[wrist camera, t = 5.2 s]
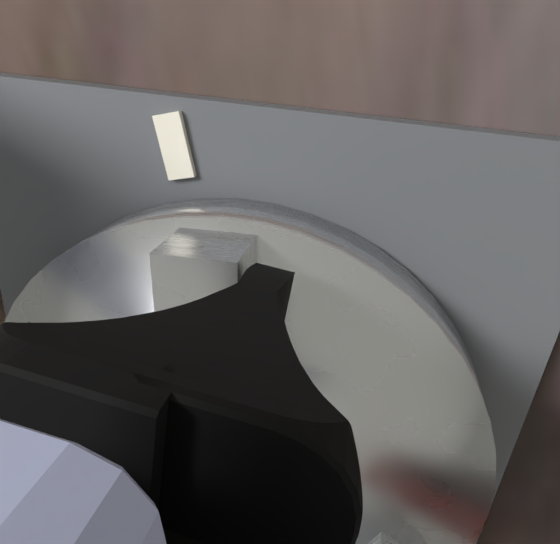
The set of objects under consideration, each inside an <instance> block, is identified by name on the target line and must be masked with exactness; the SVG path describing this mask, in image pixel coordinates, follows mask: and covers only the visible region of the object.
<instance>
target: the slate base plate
mask: <svg viewBox="0 0 560 544" xmlns="http://www.w3.org/2000/svg"><path fill="white" fill-rule="evenodd" d="M198 198H241V199H248V200H254V201H261V202H268V203H275V204H279V205H282V206H286V207H289V208H293V209H296V210H300V211H303V212H307V213H310V214H313V215H315V216H318V217H320V218H323V219H325V220H327V221H330V222H332V223H334V224H337V225H339V226H341V227H344V228H346V229H348V230H349V231H351V232H353V233H355V234H356V235H358V236H360V237H362V238H363V239H365V240H367V241H368V242H370V243H372V244H374V245H375V246H377V247H379V248H380V249H381V250H382V251H384V252H385V253H386V254H388V255H389V256H390V257H392V258H393V259H394V260H396V261H397V262H398V263H399V264H401V265H402V266H403V267H405V268H406V269H407V270H408V271H409V272H410V273H411V274H412V275H413V276H414V277H415V278H416V279H417V280H418V281H419V282H420V283H421V284H422V285H423V286H424V287H425V288H426V289H427V290H428V291H429V292H430V293H431V294H432V295H433V296H434V298H435V299H436V300H437V302H438V303H439V304H440V306H441V307H442V308H443V310H444V311H445V312H446V314H447V315H448V316H449V318H450V319H451V320H452V322H453V324H454V326H455V327H456V329H457V331H458V333H459V335H460V337H461V338H462V340H463V342H464V344H465V346H466V348H467V350H468V352H469V355H470V358H471V361H472V363H473V366H474V369H475V372H476V375H477V377H478V381H479V384H480V388H481V391H482V394H483V398H484V401H485V405H486V408H487V411H488V415H489V418H490V421H491V426H492V432H493V438H494V443H495V449H496V484H495V490H494V495H493V500H494V498H495V495H496V492H497V490H498V487H499V485H500V482H501V480H502V477H503V474H504V472H505V469H506V467H507V464H508V462H509V459H510V457H511V454H512V451H513V449H514V446H515V444H516V441H517V439H518V436H519V434H520V431H521V428H522V426H523V423H524V421H525V418H526V416H527V413H528V411H529V408H530V405H531V403H532V400H533V398H534V395H535V393H536V390H537V388H538V385H539V382H540V380H541V377H542V375H543V372H544V370H545V367H546V365H547V362H548V359H549V357H550V354H551V352H552V349H553V347H554V344H555V342H556V339H557V336H558V334H559V331H560V137H557V136H549V135H540V134H531V133H523V132H514V131H505V130H497V129H488V128H479V127H471V126H462V125H453V124H444V123H436V122H427V121H418V120H410V119H401V118H392V117H384V116H375V115H366V114H358V113H349V112H340V111H331V110H323V109H314V108H305V107H297V106H288V105H279V104H271V103H262V102H253V101H245V100H236V99H227V98H218V97H210V96H201V95H192V94H184V93H175V92H166V91H158V90H149V89H140V88H132V87H123V86H114V85H106V84H97V83H88V82H79V81H71V80H62V79H53V78H45V77H36V76H27V75H19V74H10V73H1V72H0V289H1V295H2V301H3V307H4V312H5V318H6V317H7V315H8V313H9V311H10V309H11V307H12V305H13V303H14V301H15V300H16V299H17V297H18V296H19V295H20V293H21V292H22V291H23V289H24V288H25V287H26V285H27V284H28V282H29V281H30V280H31V279H32V278H33V277H34V276H35V275H36V274H38V273H39V272H40V271H41V270H42V269H43V268H44V267H45V266H46V265H47V264H48V263H49V262H50V261H52V260H53V259H55V258H56V257H58V256H59V255H61V254H63V253H64V252H66V251H67V250H69V249H70V248H72V247H73V246H75V245H76V244H78V243H80V242H81V241H83V240H85V239H86V238H88V237H90V236H91V235H93V234H94V233H96V232H98V231H99V230H101V229H103V228H104V227H106V226H108V225H109V224H111V223H112V222H114V221H117V220H119V219H121V218H123V217H126V216H128V215H130V214H132V213H135V212H137V211H139V210H142V209H146V208H150V207H153V206H157V205H161V204H164V203H168V202H173V201H181V200H189V199H198ZM493 500H492V503H493ZM478 538H479V537H478ZM477 541H478V539H477V540H476V542H475V543H474V544H477Z"/></svg>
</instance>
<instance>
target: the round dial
mask: <svg viewBox="0 0 560 544" xmlns="http://www.w3.org/2000/svg"><path fill="white" fill-rule="evenodd" d="M255 263H260V264H264V265H268V266H272V267H276V268H279V269H283V270H287V271H291V272H295V274H294V279H293V284H292V288H291V293H290V298H289V302H288V307H287V312H286V317H285V325H286V328H287V332H288V335H289V338H290V341H291V343H292V346H293V348H294V350H295V353H296V355H297V357H298V359H299V361H300V363H301V365H302V366H303V368H304V370H305V371H306V373H307V374H308V376H309V378H310V379H311V381H312V382H313V384H314V385H315V386H316V387H317V389H318V390H319V391H320V392H321V394H322V395H323V396H324V397H325V398H326V399H327V400H328V401H329V402H330V403H331V404H332V405H333V406H334V407H335V408H336V409H337V410H338V411H339V412H340V413H341V414H342V415H343V416H344V417H345V418H346V419H347V420H348V421H349V422H350V424H351V426H352V431H353V435H354V440H355V444H356V449H357V454H358V460H359V466H360V473H361V483H362V496H363V513H362V522H361V527H360V531H359V535H358V538H357V540H356V543H355V544H474V543H475V542H476V540H477V539H478V537H479V536H480V534H481V532H482V529H483V527H484V524H485V522H486V519H487V517H488V514H489V512H490V509H491V505H492V500H493V495H494V490H495V484H496V449H495V443H494V438H493V432H492V426H491V421H490V418H489V415H488V411H487V408H486V405H485V401H484V398H483V394H482V391H481V388H480V384H479V381H478V377H477V375H476V372H475V369H474V366H473V363H472V361H471V358H470V355H469V352H468V350H467V348H466V346H465V344H464V342H463V340H462V338H461V337H460V335H459V333H458V331H457V329H456V327H455V326H454V324H453V322H452V320H451V319H450V318H449V316H448V315H447V314H446V312H445V311H444V310H443V308H442V307H441V306H440V304H439V303H438V302H437V300H436V299H435V298H434V296H433V295H432V294H431V293H430V292H429V291H428V290H427V289H426V288H425V287H424V286H423V285H422V284H421V283H420V282H419V281H418V280H417V279H416V278H415V277H414V276H413V275H412V274H411V273H410V272H409V271H408V270H407V269H406V268H405V267H403V266H402V265H401V264H399V263H398V262H397V261H396V260H394V259H393V258H392V257H390V256H389V255H388V254H386V253H385V252H384V251H382V250H381V249H380V248H379V247H377V246H375V245H374V244H372V243H370V242H368V241H367V240H365V239H363V238H362V237H360V236H358V235H356V234H355V233H353V232H351V231H349V230H348V229H346V228H344V227H341V226H339V225H337V224H334V223H332V222H330V221H327V220H325V219H323V218H320V217H318V216H315V215H313V214H310V213H307V212H303V211H300V210H296V209H293V208H289V207H286V206H282V205H279V204H275V203H268V202H261V201H254V200H248V199H241V198H198V199H189V200H181V201H173V202H168V203H164V204H161V205H157V206H153V207H150V208H146V209H142V210H139V211H137V212H135V213H132V214H130V215H128V216H126V217H123V218H121V219H119V220H117V221H114V222H112V223H111V224H109V225H108V226H106V227H104V228H103V229H101V230H99V231H98V232H96V233H94V234H93V235H91V236H90V237H88V238H86V239H85V240H83V241H81V242H80V243H78V244H76V245H75V246H73V247H72V248H70V249H69V250H67V251H66V252H64V253H63V254H61V255H59V256H58V257H56V258H55V259H53V260H52V261H50V262H49V263H48V264H47V265H46V266H45V267H44V268H43V269H42V270H41V271H40V272H39V273H38V274H36V275H35V276H34V277H33V278H32V279H31V280H30V281H29V282H28V284H27V285H26V287H25V288H24V289H23V291H22V292H21V293H20V295H19V296H18V297H17V299H16V300H15V301H14V303H13V305H12V307H11V309H10V311H9V313H8V315H7V317H6V319H5V321H4V323H5V322H16V323H63V322H82V321H96V320H106V319H115V318H123V317H128V316H134V315H139V314H145V313H150V312H156V311H161V310H165V309H169V308H172V307H176V306H179V305H183V304H186V303H189V302H192V301H195V300H198V299H201V298H203V297H206V296H208V295H211V294H213V293H215V292H218V291H220V290H223V289H225V288H228V287H230V286H232V285H234V284H236V283H238V282H239V280H240V279H241V277H242V275H243V274H244V272H245V271H246V269H247V268H249V267H250V266H251V265H253V264H255Z"/></svg>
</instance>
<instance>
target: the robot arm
mask: <svg viewBox="0 0 560 544" xmlns="http://www.w3.org/2000/svg"><path fill="white" fill-rule="evenodd" d="M294 274H295V272H291V271H287V270H283V269H279V268H276V267H272V266H268V265H264V264H260V263H255V264H253V265H251V266H250V267H249V268H247V269H246V271H245V272H244V274H243V275H242V277H241V279H240V280H239V282H238V283H236V284H234V285H232V286H230V287H228V288H225V289H223V290H220V291H218V292H215V293H213V294H211V295H208V296H206V297H203V298H201V299H198V300H195V301H192V302H189V303H186V304H183V305H179V306H176V307H172V308H169V309H165V310H161V311H156V312H150V313H145V314H139V315H134V316H128V317H123V318H115V319H106V320H96V321H82V322H63V323H16V322H5V323H3V324H2V325H0V544H355V543H356V540H357V538H358V535H359V531H360V527H361V522H362V513H363V496H362V483H361V473H360V466H359V460H358V454H357V449H356V444H355V440H354V435H353V431H352V426H351V424H350V422H349V421H348V420H347V419H346V418H345V417H344V416H343V415H342V414H341V413H340V412H339V411H338V410H337V409H336V408H335V407H334V406H333V405H332V404H331V403H330V402H329V401H328V400H327V399H326V398H325V397H324V396H323V395H322V394H321V392H320V391H319V390H318V389H317V387H316V386H315V385H314V384H313V382H312V381H311V379H310V378H309V376H308V374H307V373H306V371H305V370H304V368H303V366H302V365H301V363H300V361H299V359H298V357H297V355H296V353H295V350H294V348H293V346H292V343H291V341H290V338H289V335H288V332H287V328H286V325H285V317H286V312H287V307H288V302H289V298H290V293H291V288H292V284H293V279H294Z"/></svg>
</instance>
